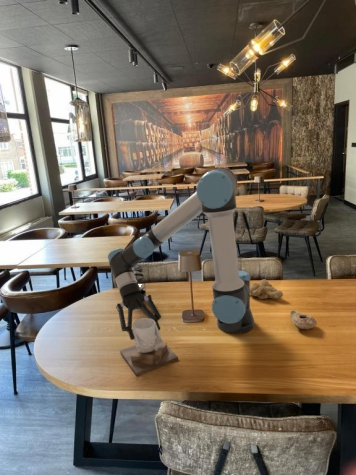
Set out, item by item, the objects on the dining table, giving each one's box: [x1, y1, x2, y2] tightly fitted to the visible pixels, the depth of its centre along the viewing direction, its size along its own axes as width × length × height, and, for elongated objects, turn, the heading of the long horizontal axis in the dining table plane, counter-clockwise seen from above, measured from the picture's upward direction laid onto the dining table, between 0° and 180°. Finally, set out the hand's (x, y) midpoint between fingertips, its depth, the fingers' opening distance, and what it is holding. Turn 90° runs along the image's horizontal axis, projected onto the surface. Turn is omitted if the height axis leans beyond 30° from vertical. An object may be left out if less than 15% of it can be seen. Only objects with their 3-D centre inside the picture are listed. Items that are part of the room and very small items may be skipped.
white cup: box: [132, 317, 156, 353], centre depth 123 cm, size 8×8×10 cm
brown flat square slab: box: [119, 337, 179, 377], centre depth 123 cm, size 16×16×3 cm
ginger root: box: [250, 278, 284, 300], centre depth 165 cm, size 16×16×8 cm
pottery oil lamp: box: [289, 310, 318, 330], centre depth 137 cm, size 9×12×7 cm
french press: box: [132, 263, 147, 302], centre depth 168 cm, size 12×9×23 cm
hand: (149, 343), depth 121 cm, fingers closed on white cup, 8 cm apart
